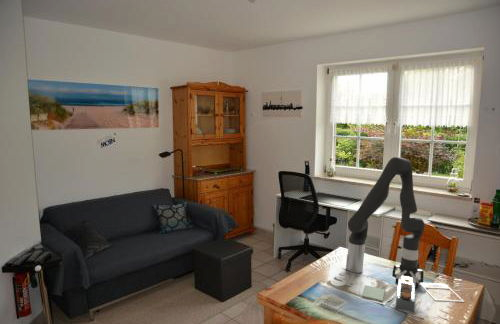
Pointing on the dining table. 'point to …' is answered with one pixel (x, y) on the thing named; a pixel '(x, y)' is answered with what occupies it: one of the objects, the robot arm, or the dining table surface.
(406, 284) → the lever cap
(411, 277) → the medicine bottle
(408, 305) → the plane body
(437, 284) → the photo frame
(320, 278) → the dining table surface
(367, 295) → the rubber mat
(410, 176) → the robot arm
